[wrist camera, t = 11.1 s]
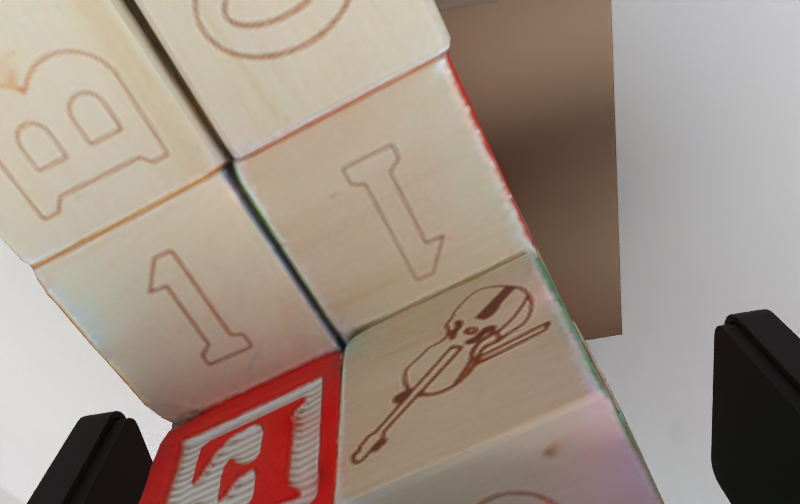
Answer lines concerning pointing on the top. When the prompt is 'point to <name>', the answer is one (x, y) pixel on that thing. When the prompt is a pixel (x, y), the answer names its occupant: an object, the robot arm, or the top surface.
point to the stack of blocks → (299, 255)
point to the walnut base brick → (551, 134)
